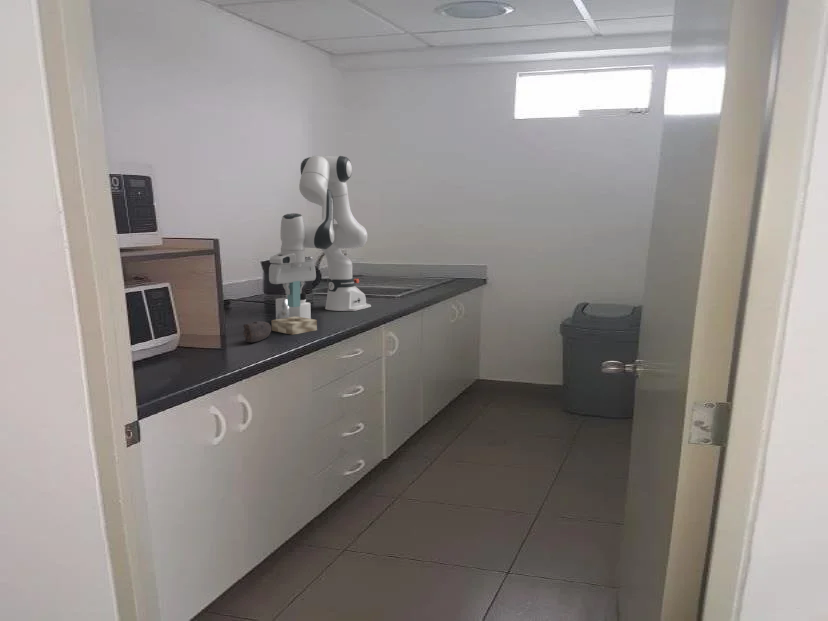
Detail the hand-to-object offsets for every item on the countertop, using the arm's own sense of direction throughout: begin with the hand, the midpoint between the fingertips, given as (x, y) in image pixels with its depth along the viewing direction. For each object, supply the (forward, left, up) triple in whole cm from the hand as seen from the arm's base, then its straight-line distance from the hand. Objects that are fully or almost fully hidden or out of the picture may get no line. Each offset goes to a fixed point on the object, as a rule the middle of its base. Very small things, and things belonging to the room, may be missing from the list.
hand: (293, 294), depth 238 cm
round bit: (-6, -14, -14) cm, 21 cm away
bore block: (0, 0, -14) cm, 14 cm away
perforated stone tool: (+20, +5, -14) cm, 25 cm away
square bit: (0, 0, -5) cm, 5 cm away
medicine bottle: (-16, -16, -14) cm, 27 cm away
